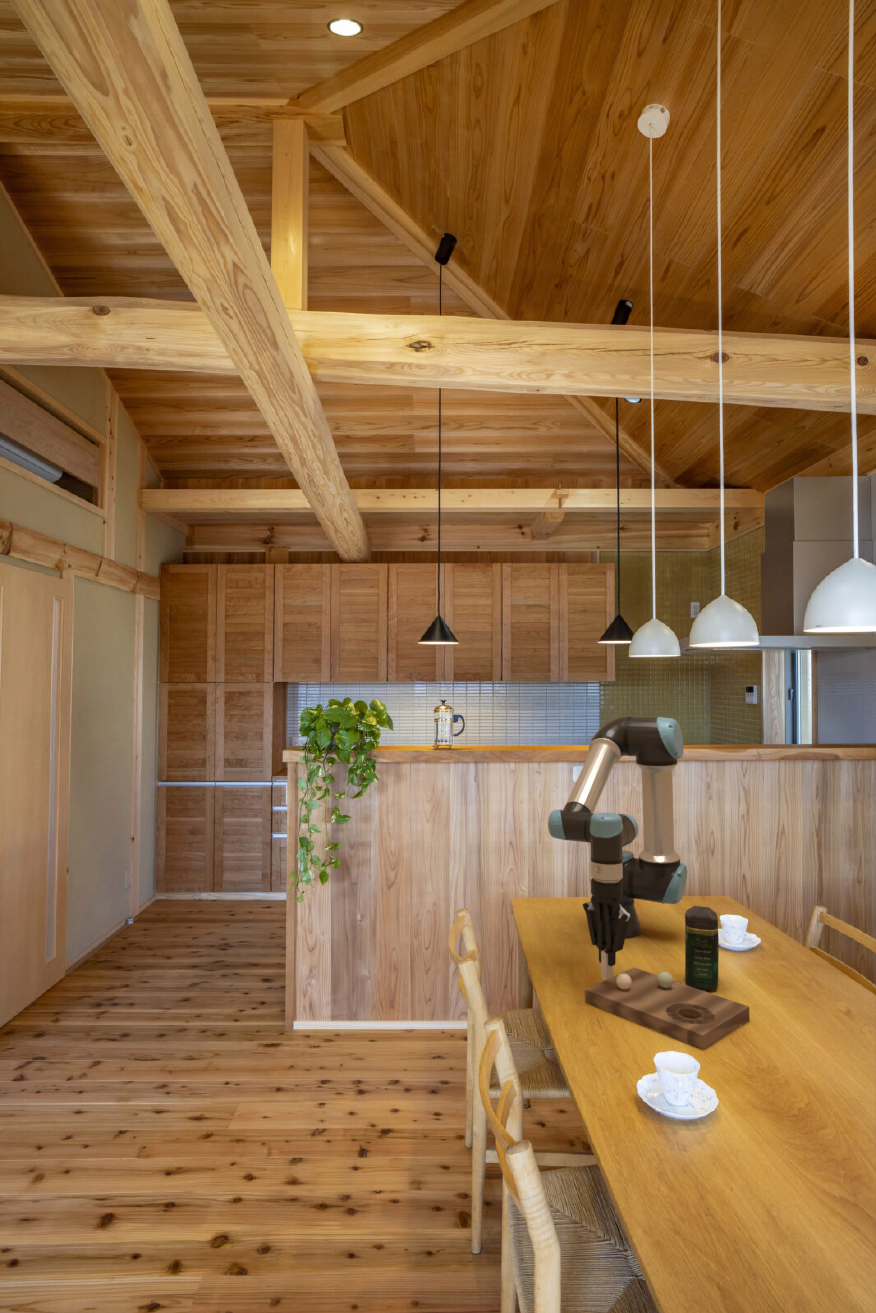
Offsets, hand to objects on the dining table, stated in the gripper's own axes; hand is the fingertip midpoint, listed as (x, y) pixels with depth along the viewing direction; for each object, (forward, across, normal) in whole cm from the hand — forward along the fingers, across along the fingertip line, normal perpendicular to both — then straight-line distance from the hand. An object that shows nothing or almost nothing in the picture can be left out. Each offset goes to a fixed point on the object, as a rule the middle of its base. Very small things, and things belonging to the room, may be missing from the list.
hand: (607, 977), depth 180 cm
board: (+4, +14, +3) cm, 15 cm away
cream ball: (0, +5, 0) cm, 5 cm away
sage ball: (0, +11, +8) cm, 13 cm away
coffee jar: (+5, +11, +23) cm, 26 cm away
